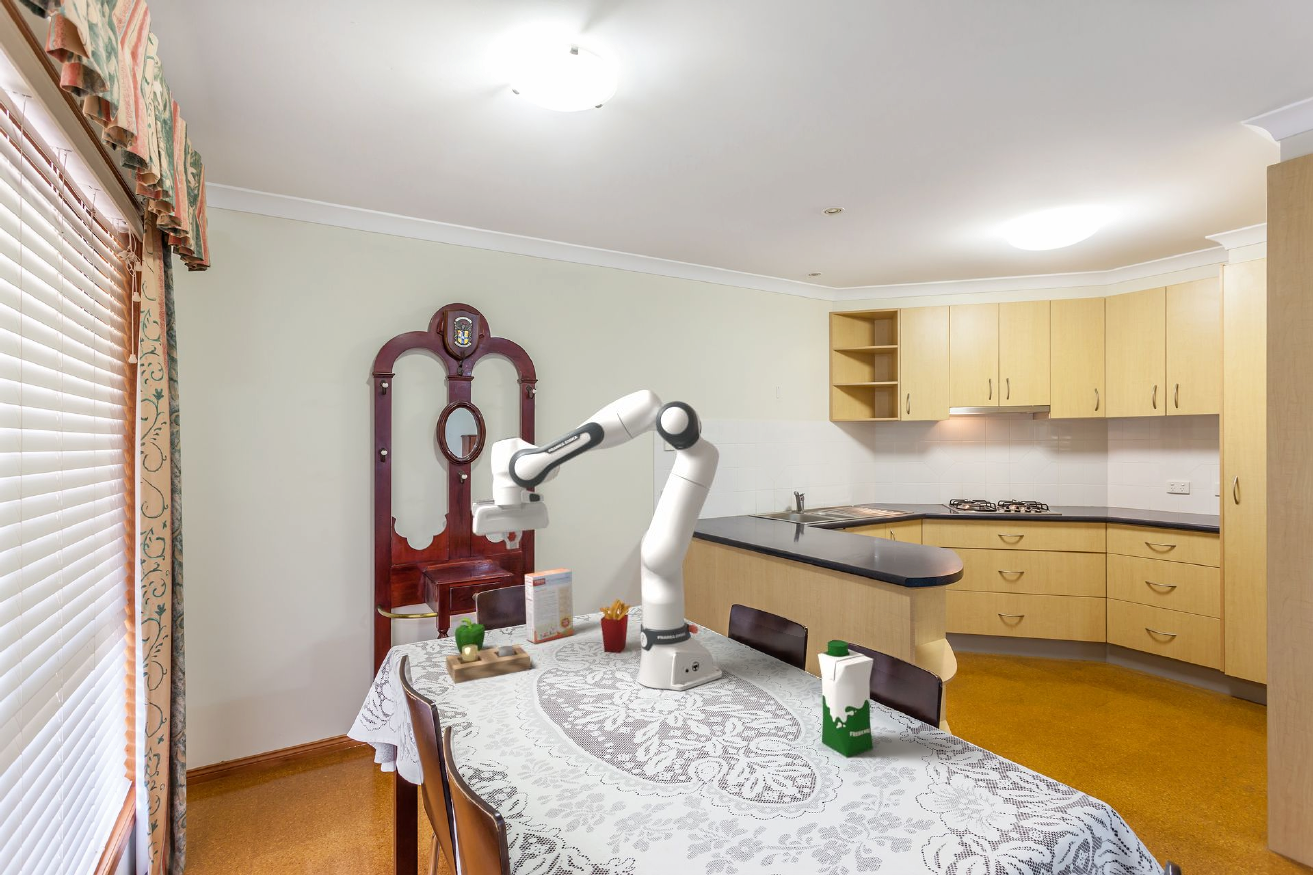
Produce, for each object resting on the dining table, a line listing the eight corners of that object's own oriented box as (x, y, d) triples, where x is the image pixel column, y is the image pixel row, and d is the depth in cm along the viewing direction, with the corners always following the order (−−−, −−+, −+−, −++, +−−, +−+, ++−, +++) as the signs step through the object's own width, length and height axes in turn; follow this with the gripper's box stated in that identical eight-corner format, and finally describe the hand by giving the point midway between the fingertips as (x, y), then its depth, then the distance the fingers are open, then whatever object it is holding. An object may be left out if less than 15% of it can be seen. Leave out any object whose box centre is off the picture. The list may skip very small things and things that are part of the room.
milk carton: (847, 732, 138) (845, 636, 138) (880, 750, 130) (878, 648, 130) (815, 741, 134) (813, 643, 134) (847, 760, 126) (845, 656, 126)
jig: (517, 656, 190) (517, 639, 190) (530, 669, 179) (530, 650, 179) (446, 669, 181) (446, 651, 181) (455, 683, 170) (454, 663, 170)
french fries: (600, 652, 192) (599, 601, 192) (610, 644, 200) (609, 594, 200) (628, 654, 190) (627, 603, 190) (637, 646, 198) (636, 596, 198)
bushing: (476, 669, 180) (475, 643, 180) (479, 673, 177) (478, 647, 177) (461, 671, 178) (460, 645, 178) (464, 676, 175) (463, 649, 175)
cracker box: (564, 631, 215) (563, 567, 215) (573, 635, 210) (572, 569, 210) (525, 639, 206) (524, 573, 206) (534, 644, 201) (533, 576, 201)
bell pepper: (491, 651, 196) (490, 617, 196) (470, 659, 189) (469, 624, 189) (471, 646, 200) (471, 613, 200) (450, 654, 193) (449, 620, 193)
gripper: (473, 501, 171) (476, 554, 170) (549, 494, 180) (552, 545, 180) (468, 500, 176) (471, 551, 176) (541, 493, 186) (544, 542, 186)
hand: (512, 548), depth 178 cm, fingers closed
